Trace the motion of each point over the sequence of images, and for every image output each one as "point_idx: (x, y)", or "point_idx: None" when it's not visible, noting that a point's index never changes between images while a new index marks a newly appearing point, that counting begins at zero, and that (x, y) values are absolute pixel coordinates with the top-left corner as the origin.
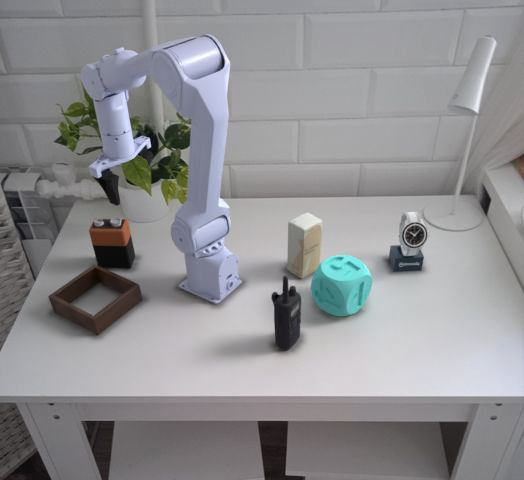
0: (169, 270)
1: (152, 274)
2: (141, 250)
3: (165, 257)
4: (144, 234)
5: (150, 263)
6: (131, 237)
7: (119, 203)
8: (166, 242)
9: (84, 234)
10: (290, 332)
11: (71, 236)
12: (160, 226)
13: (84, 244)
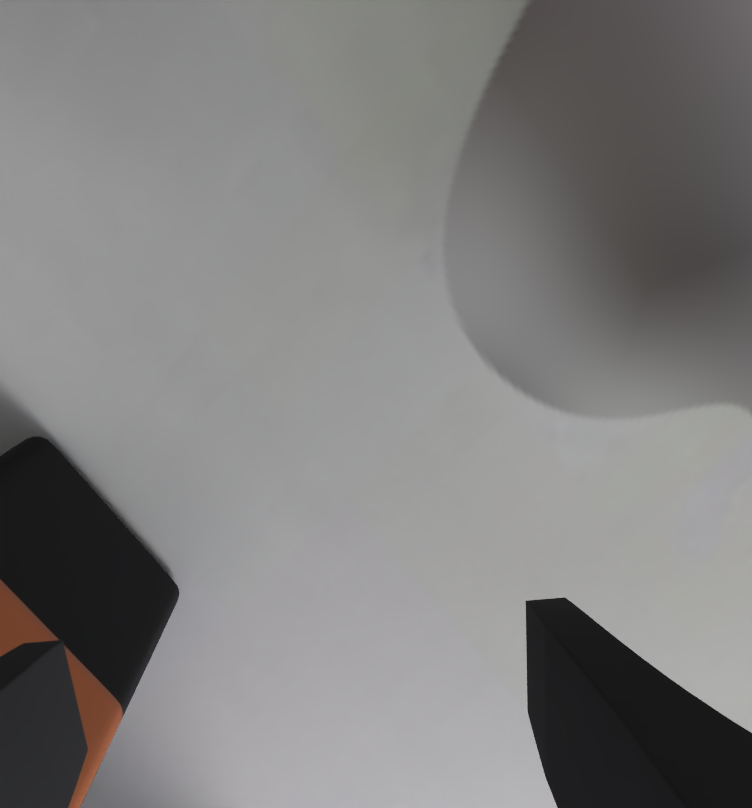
0: (233, 800)
1: (146, 762)
2: (257, 563)
3: (302, 711)
4: (395, 450)
5: (205, 689)
6: (129, 701)
7: (76, 764)
8: (416, 617)
9: (105, 82)
10: None
11: (12, 11)
12: (529, 465)
13: (28, 198)
